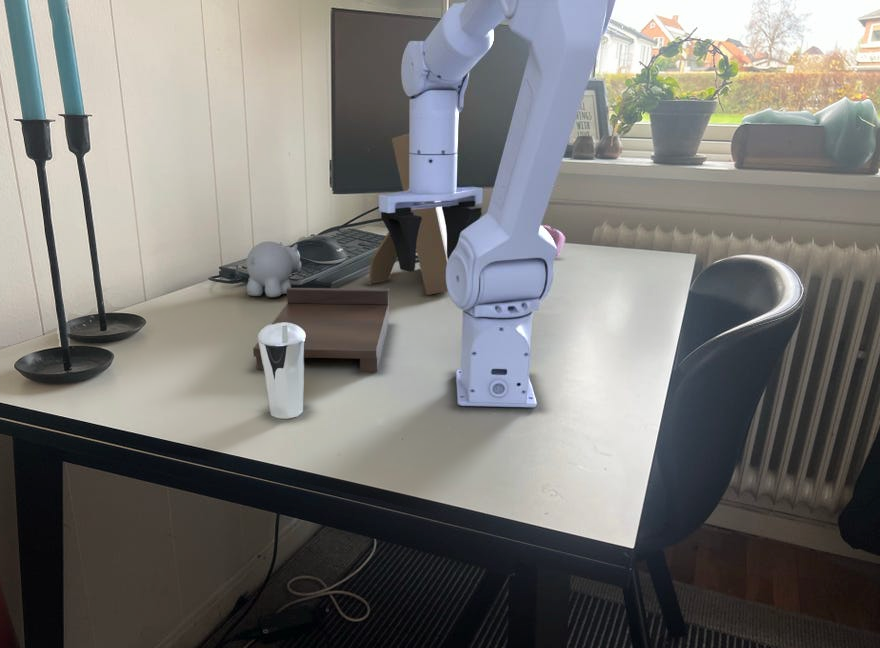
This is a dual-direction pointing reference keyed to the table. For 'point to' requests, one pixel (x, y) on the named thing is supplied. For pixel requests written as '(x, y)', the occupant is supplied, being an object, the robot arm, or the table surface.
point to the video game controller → (556, 238)
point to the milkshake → (283, 367)
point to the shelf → (338, 323)
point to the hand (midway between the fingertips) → (431, 266)
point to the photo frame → (428, 239)
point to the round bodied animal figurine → (271, 268)
